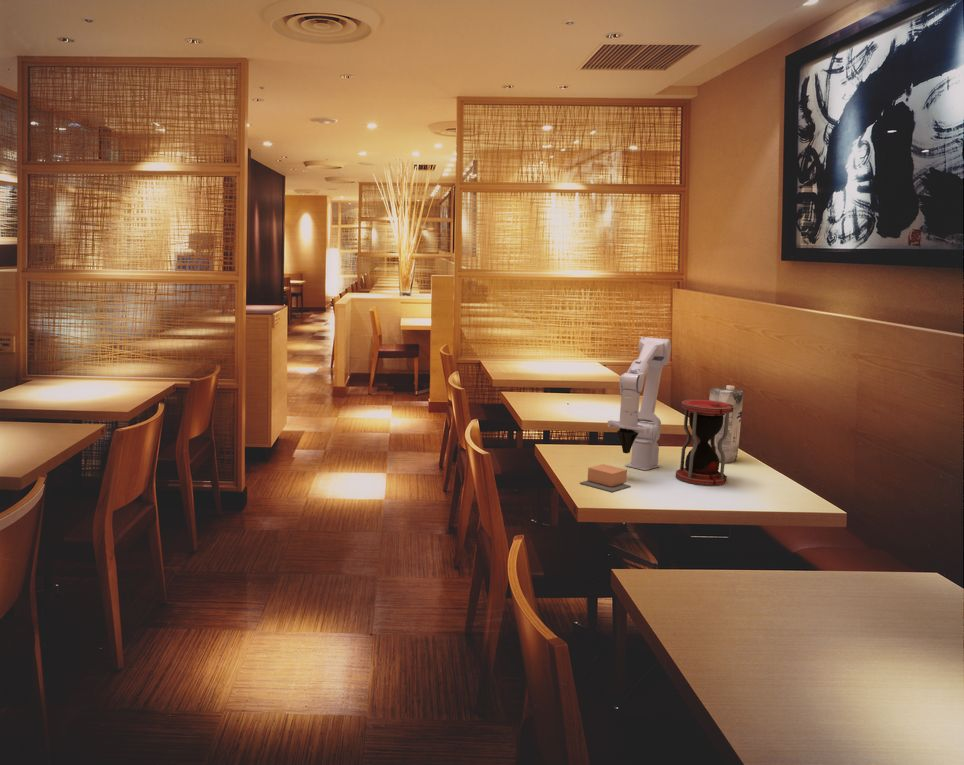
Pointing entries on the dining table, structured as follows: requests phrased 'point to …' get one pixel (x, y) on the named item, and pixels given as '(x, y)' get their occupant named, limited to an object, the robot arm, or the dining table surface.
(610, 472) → the orange rectangular block
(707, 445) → the hourglass
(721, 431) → the juice carton
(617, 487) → the charcoal mat
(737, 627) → the dining table surface
